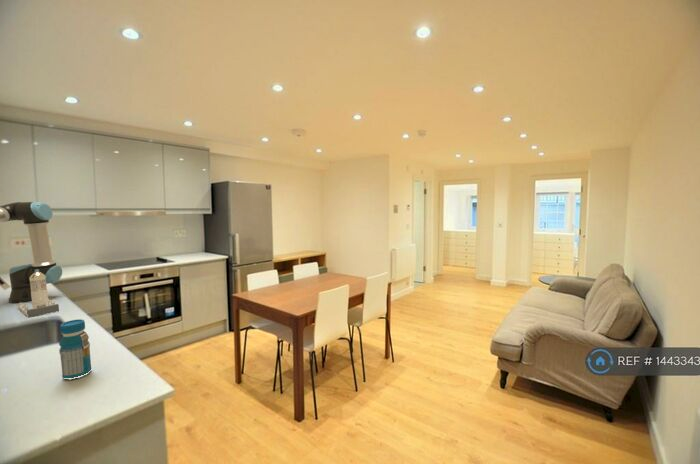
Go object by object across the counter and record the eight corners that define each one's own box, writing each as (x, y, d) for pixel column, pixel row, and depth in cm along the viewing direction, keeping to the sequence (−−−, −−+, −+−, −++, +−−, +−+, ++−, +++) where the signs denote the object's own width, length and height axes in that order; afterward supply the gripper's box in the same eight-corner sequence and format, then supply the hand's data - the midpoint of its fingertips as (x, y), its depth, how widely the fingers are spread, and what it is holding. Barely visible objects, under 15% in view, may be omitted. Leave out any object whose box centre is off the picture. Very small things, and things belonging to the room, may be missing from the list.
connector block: (27, 316, 178) (26, 310, 178) (58, 310, 188) (57, 303, 188) (28, 317, 177) (27, 310, 176) (59, 311, 187) (58, 304, 187)
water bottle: (39, 314, 182) (34, 271, 179) (29, 313, 183) (25, 270, 181) (52, 310, 188) (48, 268, 186) (43, 309, 190) (39, 268, 188)
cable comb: (18, 308, 192) (17, 302, 192) (47, 303, 203) (46, 297, 202) (28, 317, 177) (27, 310, 176) (59, 311, 187) (58, 304, 187)
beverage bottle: (67, 383, 111) (61, 328, 109) (58, 377, 115) (53, 324, 113) (96, 372, 118) (91, 320, 116) (86, 366, 122) (82, 316, 121)
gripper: (-42, 256, 167) (-9, 285, 178) (-35, 264, 153) (1, 295, 165) (-24, 247, 172) (7, 276, 183) (-15, 254, 158) (18, 285, 170)
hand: (4, 285), depth 174 cm, fingers open, 13 cm apart
